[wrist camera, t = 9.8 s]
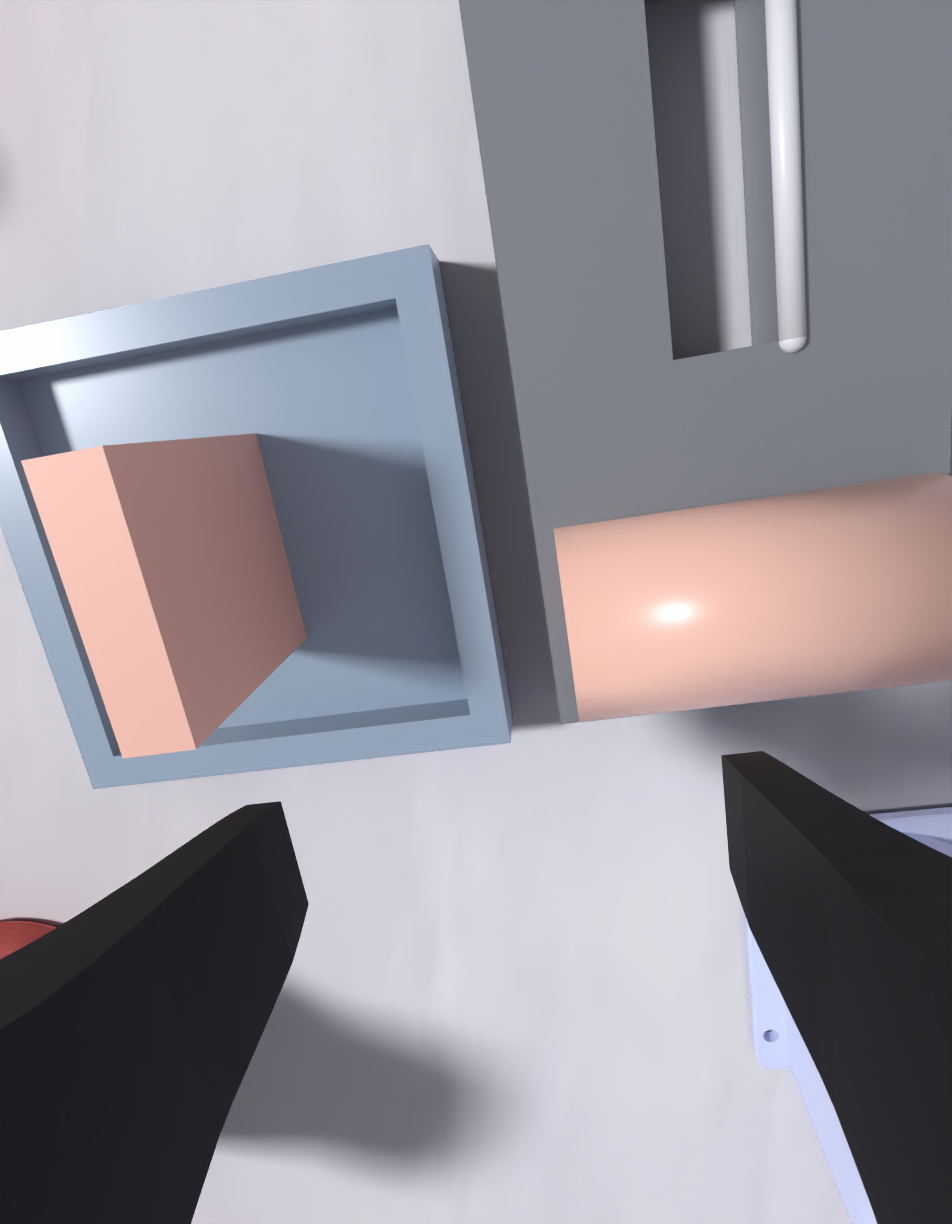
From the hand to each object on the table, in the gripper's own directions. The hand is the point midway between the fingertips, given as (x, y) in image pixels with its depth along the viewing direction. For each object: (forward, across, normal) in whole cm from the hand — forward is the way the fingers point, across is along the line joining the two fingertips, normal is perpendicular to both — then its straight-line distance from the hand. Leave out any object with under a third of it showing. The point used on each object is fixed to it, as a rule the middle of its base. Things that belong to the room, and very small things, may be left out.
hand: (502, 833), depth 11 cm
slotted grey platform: (+10, -6, -7) cm, 14 cm away
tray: (+10, +7, -4) cm, 13 cm away
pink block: (+9, +7, -4) cm, 12 cm away
